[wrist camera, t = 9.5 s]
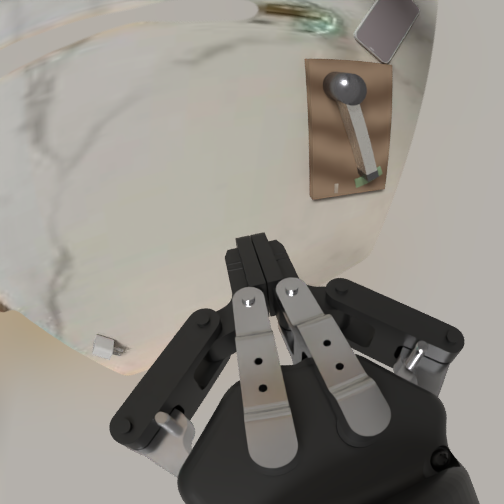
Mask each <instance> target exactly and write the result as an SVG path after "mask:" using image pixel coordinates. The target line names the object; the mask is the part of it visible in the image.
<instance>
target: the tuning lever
mask: <svg viewBox="0 0 504 504" xmlns="http://www.w3.org/2000/svg"><path fill="white" fill-rule="evenodd" d="M323 90H324V92H325V94H326V95H327V96H328V97H329V98H330V99H332V100H335V101H336V102H337V105H338V108H339V111H340V114H341V117H342V119H343V122H344V125H345V129H346V132H347V135H348V138H349V141H350V144H351V148H352V151H353V155H354V158H355V162H356V165H357V170H358V174H359V175H360V176H362V177H363V178H364V179H365V180H367V181H368V182H369V181H371V180H373V179H375V178H377V177H379V174H378V170H377V167H376V163H375V158H374V154H373V150H372V146H371V142H370V138H369V135H368V131H367V127H366V124H365V120H364V117H363V114H362V110H361V107H360V103H361V102H363V100H364V99H365V97H366V94H367V87H366V84H365V82H364V80H363V79H362V78H361V77H360V76H358V75H356V74H351V73H345V72H337V71H335V72H331V73H329V74H328V75H326V77H325V78H324V80H323Z"/></svg>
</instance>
